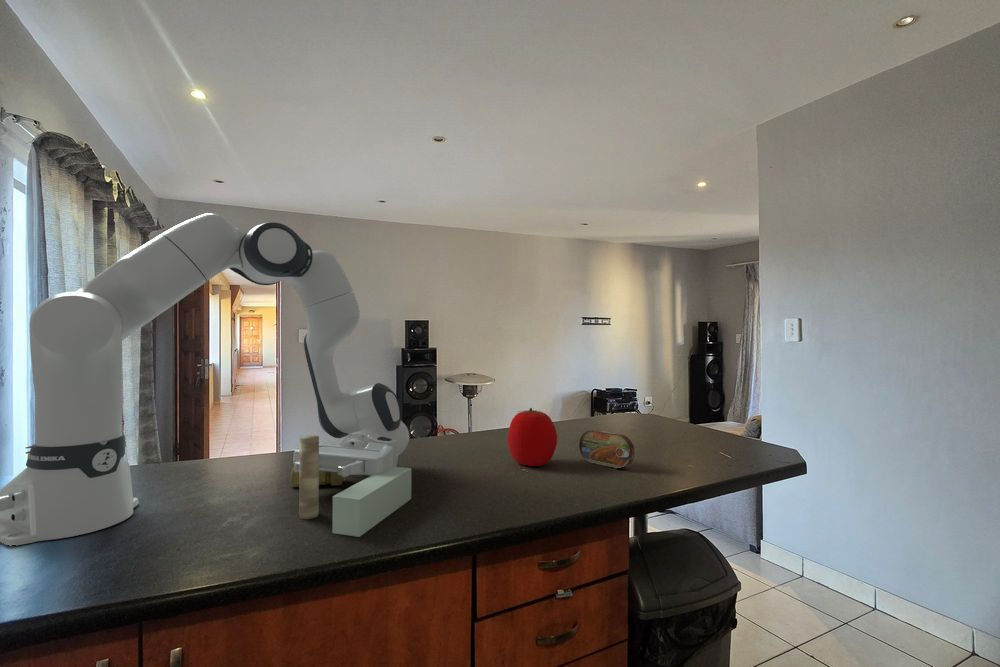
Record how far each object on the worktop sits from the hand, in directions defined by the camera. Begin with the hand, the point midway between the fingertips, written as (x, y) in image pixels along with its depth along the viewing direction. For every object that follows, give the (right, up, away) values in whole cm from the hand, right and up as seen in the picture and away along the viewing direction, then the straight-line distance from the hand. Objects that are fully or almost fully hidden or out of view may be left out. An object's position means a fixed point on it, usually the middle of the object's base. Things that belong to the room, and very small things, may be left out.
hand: (318, 470), depth 86 cm
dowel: (-1, -7, -3) cm, 8 cm away
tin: (+60, -8, +31) cm, 68 cm away
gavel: (-7, -8, +23) cm, 25 cm away
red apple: (+41, -8, +31) cm, 52 cm away
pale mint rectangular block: (+11, -7, -2) cm, 13 cm away
